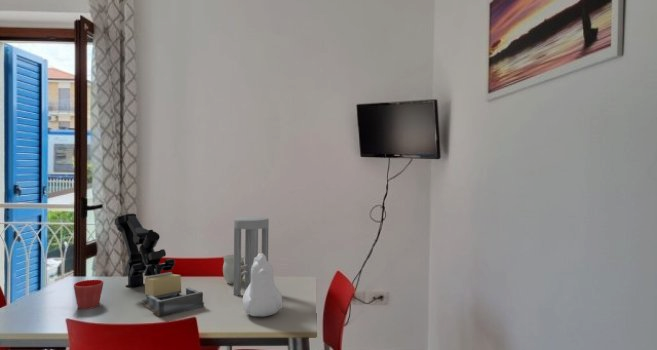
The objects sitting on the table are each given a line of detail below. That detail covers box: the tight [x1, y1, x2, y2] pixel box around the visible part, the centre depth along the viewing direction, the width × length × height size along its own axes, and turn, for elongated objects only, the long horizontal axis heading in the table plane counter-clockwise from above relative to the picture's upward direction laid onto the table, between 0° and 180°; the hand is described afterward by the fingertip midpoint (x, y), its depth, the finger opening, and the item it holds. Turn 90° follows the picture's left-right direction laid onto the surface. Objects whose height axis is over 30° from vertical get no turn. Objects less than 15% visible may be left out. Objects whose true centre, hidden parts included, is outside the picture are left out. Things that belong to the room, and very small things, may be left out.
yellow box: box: [144, 271, 182, 299], centre depth 181 cm, size 10×12×10 cm
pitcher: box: [222, 254, 245, 285], centre depth 213 cm, size 11×18×14 cm, turn 174°
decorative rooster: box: [242, 252, 283, 317], centre depth 170 cm, size 25×16×25 cm, turn 3°
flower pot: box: [73, 279, 104, 310], centre depth 174 cm, size 11×11×10 cm
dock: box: [141, 287, 205, 318], centre depth 179 cm, size 29×19×7 cm, turn 45°
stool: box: [233, 216, 270, 297], centre depth 194 cm, size 16×16×35 cm
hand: (158, 283), depth 185 cm, fingers closed, pressing on yellow box
